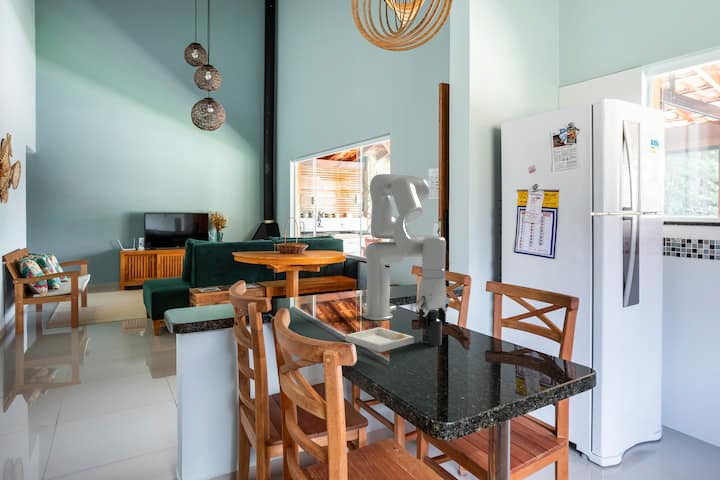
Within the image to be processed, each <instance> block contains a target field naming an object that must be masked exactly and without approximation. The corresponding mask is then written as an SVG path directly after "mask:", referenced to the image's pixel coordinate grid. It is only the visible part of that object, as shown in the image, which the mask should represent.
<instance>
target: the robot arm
mask: <svg viewBox="0 0 720 480" xmlns="http://www.w3.org/2000/svg"><path fill="white" fill-rule="evenodd" d="M369 194H370V199H371V215H370V216H371V218H370V219H371V220H370V234H371V236H372V237H373V238H374V239H380V240H381V239H383V240H386V239H387V240H392V239H393V241H373V242H372V241H371V242H370V243H369V244H367V245H366V248H365V254H364V255H365V260H366V271H367V272H366V311H365V312H363V313H362V317H363V318H364V319H367V320H372V321H387V320H388V321H389V320H390V319H393V313H391V312H392V311H396V310H397V306H396V305H390V291H391V288H390V287H391V275H390V273H389V272H390V271H389V270H388V268H387V267H386V265H402V264H404V262H406V259H407V258H421V259H422V260H421V265H422V266H421V278H420V281H419V285H418V294H417V301H416V302H415V303H414V307H415V311H416V314H417V316H418V328H419V329H421V328H422V329H427V328H428V317H426V316H427V314H428V312H429V310H434V309H435V310H438V311H439V317H438V318H439V319H440V320H441V321H442V326H443V325H444V326H445V325H446V322H447V321H446V320H447V319H446V318H447V313H448V312H447V311H448V307H449V304H450V300H451V298H449V297H448V296H447V285H446V283H447V281H446V259H447V258H446V253H447V241H446V239H445V237H443V236H434V235H427V234H426V235H424V234H419V235H418V234H414V235H413V234H409V233H410V227H409V223H411V222H414V221H415V220H417V219H418V218H420V217H421V215H422V213H423V207H422V204H421V202H420V201H425V200H426V199H427V198H428V197H429V195H430V185H429V183H428V181H427V180H426V179H425V178H423V177H418V176H413V175H407V174H406V175H405V174H404V175H403V174H393V173H390V174H389V173H381V174H376V175H374V176H372V178H371V181H370V184H369ZM390 196H391V197H393V200H394V203H395V206H396V209H397V213H398V215H393V210H394V208H393V207H394V206H393V202H392V200H391V198H390ZM424 310H425V312H424Z"/></svg>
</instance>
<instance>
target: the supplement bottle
mask: <svg viewBox="0 0 720 480" xmlns="http://www.w3.org/2000/svg"><path fill="white" fill-rule="evenodd" d="M423 311H424V312H425V310H423ZM426 317H428V328H427V329H422V328H420V344H421V345H423V346H426V347H439V346H441V345H442V342H443V341H442V338H443V336H442V335H443V334H442V333H443V332H442V330H443V324H442V321H441V320H440V319H439V318H438V317H439V311H438V309H434V310H429V312H428V314H427V316H426Z"/></svg>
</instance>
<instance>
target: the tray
mask: <svg viewBox="0 0 720 480" xmlns="http://www.w3.org/2000/svg"><path fill="white" fill-rule="evenodd" d="M400 333H401V332H398V331H394V330H391V329H388V328H383V327H381V326H379V327H373V328H370V329H365V330H362V331H361V330H360V331H357V332H353V333H349V334H347V333H346V334H345V342H348V343H350V344H353V345H358V346H360V347H363V348H366V349H369V350H372V351H375V352H378V353H384V352H386V351H387V352H388V351H390V350H394V349H396V348H397V349H398V348H401V347H404V346H408V345H411V344H414V342H415V336H412V335H409V334H406V333H403V334H404V335H405V337H406V338H402V339H398V340H397V335H398V334H400Z"/></svg>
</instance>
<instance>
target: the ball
mask: <svg viewBox="0 0 720 480" xmlns="http://www.w3.org/2000/svg"><path fill="white" fill-rule="evenodd" d="M399 333H400V334H398V335H397V340H398V339H402V338H406V337H405V335H404V334H405V333H402V332H399Z"/></svg>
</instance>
